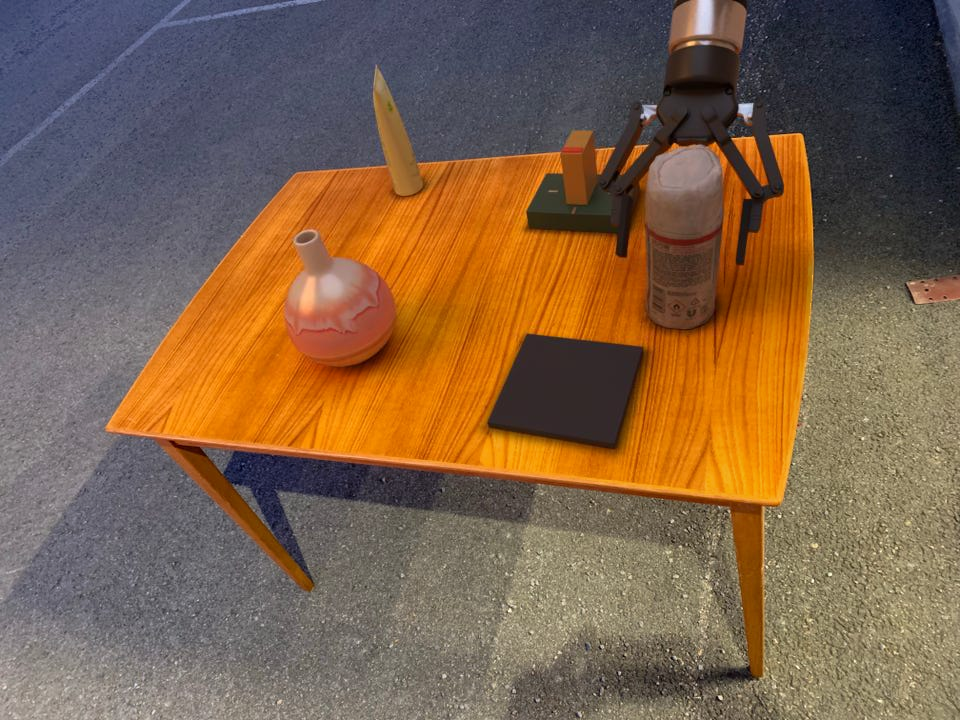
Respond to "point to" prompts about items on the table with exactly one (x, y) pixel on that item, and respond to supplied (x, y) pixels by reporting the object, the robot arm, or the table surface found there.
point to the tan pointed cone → (395, 141)
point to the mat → (568, 390)
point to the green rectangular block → (572, 208)
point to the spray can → (683, 236)
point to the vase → (337, 306)
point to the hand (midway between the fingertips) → (678, 260)
